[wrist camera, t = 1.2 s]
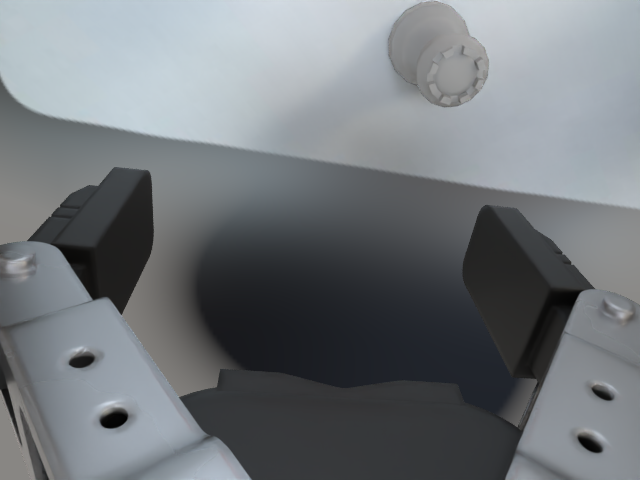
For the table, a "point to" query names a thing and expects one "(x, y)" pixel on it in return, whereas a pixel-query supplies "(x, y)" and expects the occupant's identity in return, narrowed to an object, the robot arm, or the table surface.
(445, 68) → the rook chess piece
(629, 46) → the table surface
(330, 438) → the robot arm
